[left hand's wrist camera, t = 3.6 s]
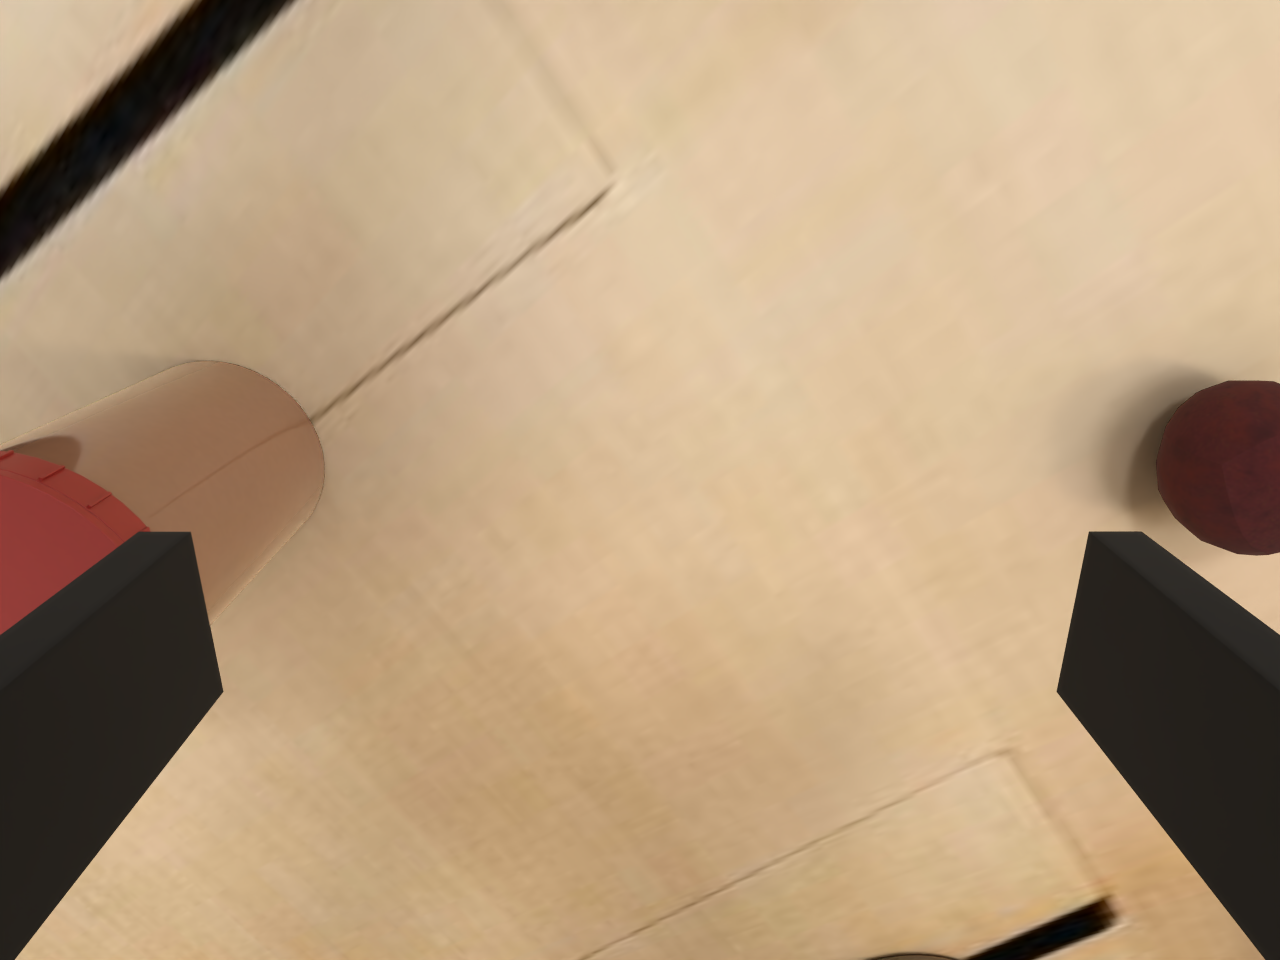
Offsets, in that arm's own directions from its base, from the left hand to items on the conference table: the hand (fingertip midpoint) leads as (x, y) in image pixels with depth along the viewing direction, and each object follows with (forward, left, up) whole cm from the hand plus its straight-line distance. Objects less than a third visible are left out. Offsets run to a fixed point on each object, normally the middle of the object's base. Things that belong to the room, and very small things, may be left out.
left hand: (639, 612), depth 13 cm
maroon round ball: (+6, +27, -28) cm, 39 cm away
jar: (+7, -20, -28) cm, 35 cm away
